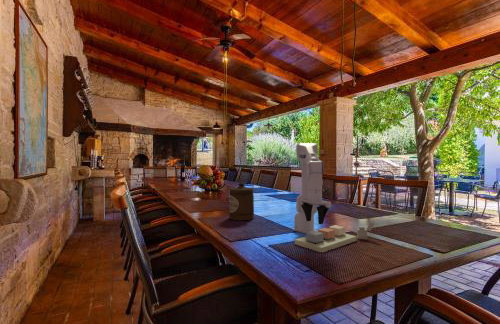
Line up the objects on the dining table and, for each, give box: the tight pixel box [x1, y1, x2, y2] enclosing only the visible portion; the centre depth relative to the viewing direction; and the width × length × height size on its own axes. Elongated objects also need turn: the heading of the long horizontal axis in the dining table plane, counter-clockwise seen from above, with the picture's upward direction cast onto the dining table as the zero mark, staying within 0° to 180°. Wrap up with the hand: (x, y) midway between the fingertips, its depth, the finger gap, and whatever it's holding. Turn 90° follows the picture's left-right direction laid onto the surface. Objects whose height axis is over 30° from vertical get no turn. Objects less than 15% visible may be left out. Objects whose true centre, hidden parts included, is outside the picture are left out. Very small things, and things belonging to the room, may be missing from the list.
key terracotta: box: [317, 227, 335, 239], centre depth 121 cm, size 5×5×3 cm
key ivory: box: [328, 224, 346, 236], centre depth 126 cm, size 5×5×3 cm
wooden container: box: [228, 181, 255, 221], centre depth 169 cm, size 15×15×22 cm
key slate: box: [305, 230, 323, 244], centre depth 116 cm, size 5×5×3 cm
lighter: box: [356, 221, 375, 240], centre depth 127 cm, size 7×2×8 cm, turn 76°
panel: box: [294, 233, 358, 254], centre depth 121 cm, size 14×25×2 cm, turn 129°
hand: (314, 222), depth 116 cm, fingers open, 6 cm apart
